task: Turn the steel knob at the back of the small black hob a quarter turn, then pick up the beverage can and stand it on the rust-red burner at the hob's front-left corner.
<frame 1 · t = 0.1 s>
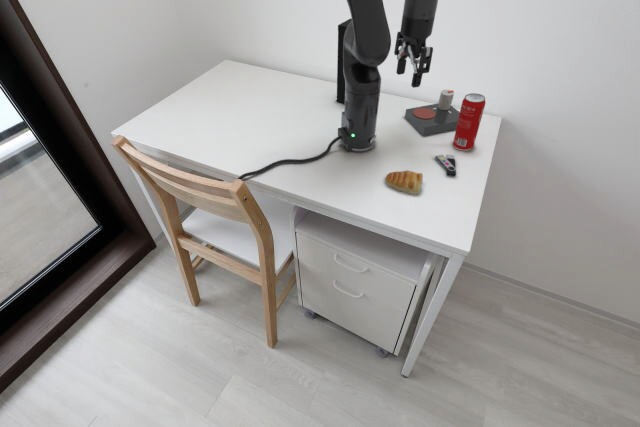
hand: (407, 80, 91), 17 cm above the table, tool pointing down, fingers open, 8 cm apart
pastry: (405, 186, 87), on the table
hob knob: (445, 99, 107), point 6 cm above the table, hinge at 0.0°
beverage can: (461, 146, 99), on the table
hob: (434, 122, 109), on the table
usb flash drive: (444, 166, 92), on the table
burner: (424, 113, 107), resting on hob
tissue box: (351, 100, 120), on the table
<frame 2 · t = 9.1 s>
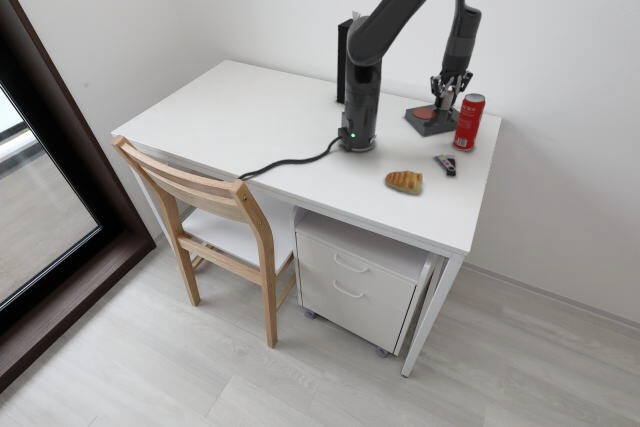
hand: (444, 105, 109), 4 cm above the table, tool pointing down, fingers closed on hob knob, 4 cm apart
hob knob: (445, 99, 107), point 6 cm above the table, hinge at 0.2°, touching gripper
everything else where it was.
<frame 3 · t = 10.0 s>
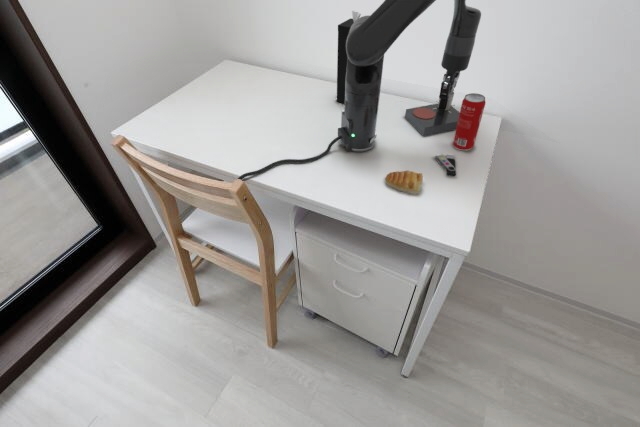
hand: (443, 105, 109), 4 cm above the table, tool pointing down, fingers closed on hob knob, 4 cm apart
hob knob: (445, 99, 107), point 6 cm above the table, hinge at 43.8°, touching gripper
everything else where it was.
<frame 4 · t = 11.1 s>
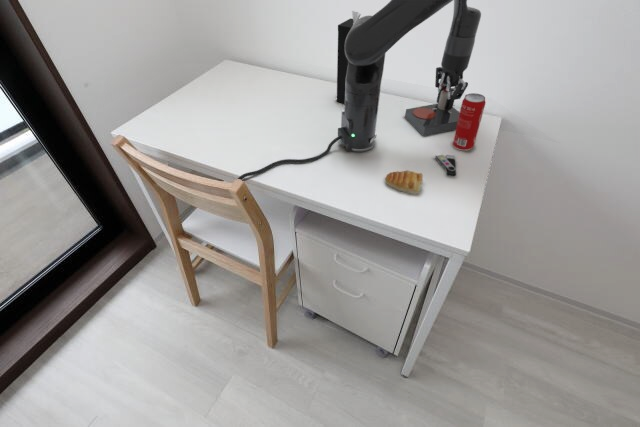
hand: (443, 105, 109), 4 cm above the table, tool pointing down, fingers closed on hob knob, 4 cm apart
hob knob: (445, 99, 107), point 6 cm above the table, hinge at 94.2°, touching gripper
everything else where it was.
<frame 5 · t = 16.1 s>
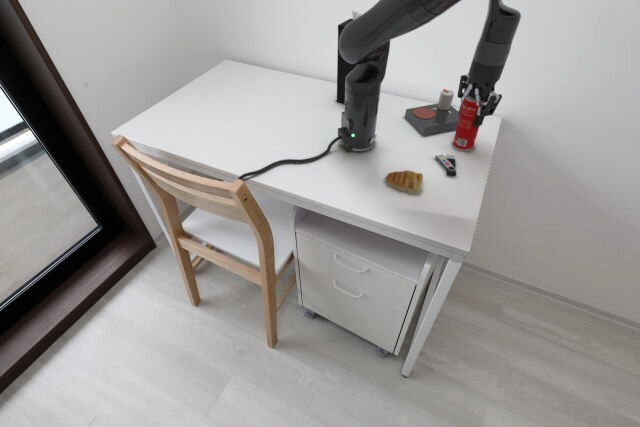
hand: (468, 120, 94), 8 cm above the table, tool pointing down, fingers closed on beverage can, 5 cm apart
hob knob: (445, 99, 107), point 6 cm above the table, hinge at 93.6°
beverage can: (461, 146, 99), on the table, touching gripper
everything else where it was.
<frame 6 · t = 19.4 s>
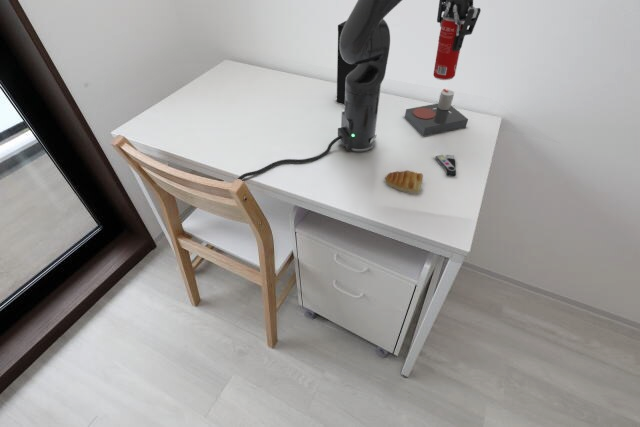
hand: (448, 46, 90), 24 cm above the table, tool pointing down, fingers closed on beverage can, 5 cm apart
beverage can: (441, 77, 95), point 16 cm above the table, touching gripper
everything else where it was.
when the fingers open (11 cm above the table, at t = 23.1 s): beverage can stays where it is, resting on burner.
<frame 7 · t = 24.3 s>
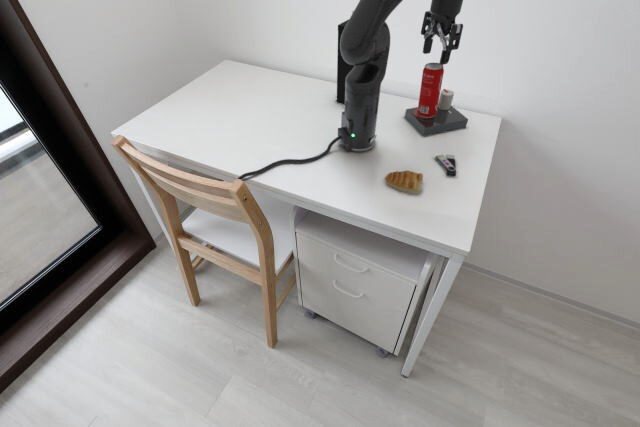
hand: (434, 58, 95), 20 cm above the table, tool pointing down, fingers open, 8 cm apart
beverage can: (425, 114, 106), point 3 cm above the table, touching burner
everything else where it was.
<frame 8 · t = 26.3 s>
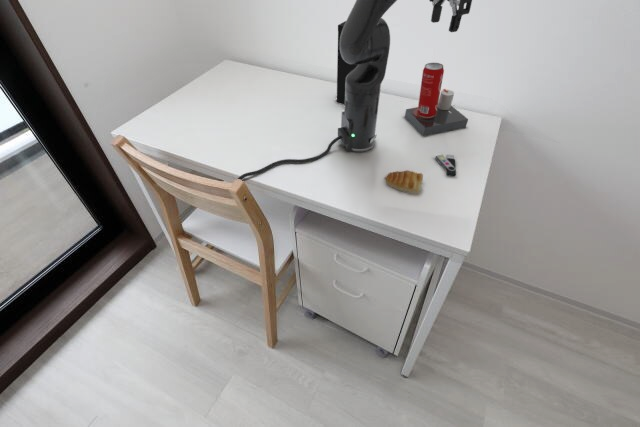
hand: (443, 26, 89), 28 cm above the table, tool pointing down, fingers open, 8 cm apart
nothing on the table moved.
at the end: hob knob at +94° (first picture: +0°); beverage can 0.6 cm from the target spot on the hob, point 3.0 cm above the hob's base; beverage can tilted 0° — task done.
